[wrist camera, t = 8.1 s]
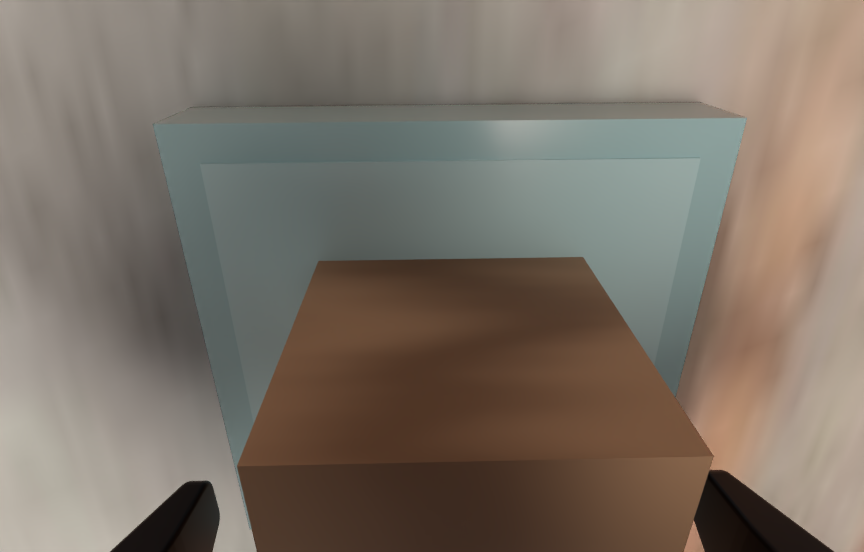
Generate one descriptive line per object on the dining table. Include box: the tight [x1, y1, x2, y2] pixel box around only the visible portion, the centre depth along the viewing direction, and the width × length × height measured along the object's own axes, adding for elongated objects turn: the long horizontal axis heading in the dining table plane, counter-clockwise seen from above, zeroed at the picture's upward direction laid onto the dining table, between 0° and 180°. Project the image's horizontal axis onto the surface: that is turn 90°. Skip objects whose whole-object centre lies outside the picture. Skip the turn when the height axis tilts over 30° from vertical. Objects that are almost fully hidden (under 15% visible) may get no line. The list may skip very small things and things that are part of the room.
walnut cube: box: [237, 257, 714, 552], centre depth 11 cm, size 6×6×6 cm
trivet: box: [153, 102, 747, 529], centre depth 14 cm, size 12×12×2 cm
